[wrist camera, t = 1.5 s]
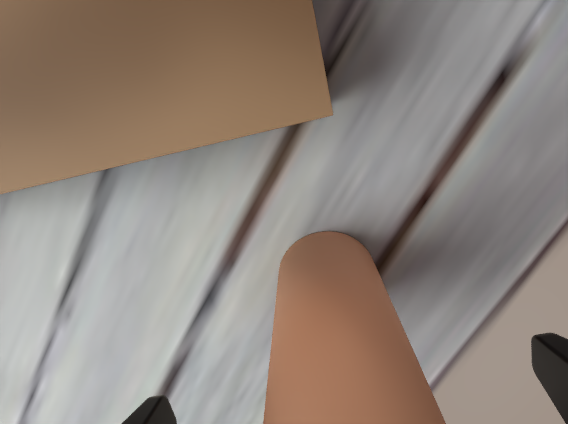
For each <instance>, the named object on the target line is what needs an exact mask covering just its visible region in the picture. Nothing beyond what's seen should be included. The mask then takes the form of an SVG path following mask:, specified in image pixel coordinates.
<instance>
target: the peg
mask: <svg viewBox="0 0 568 424" xmlns="http://www.w3.org/2000/svg"><path fill="white" fill-rule="evenodd" d="M263 424H446V423H445V421H444V419H443V416H442V414H441V412H440V409H439V407H438V405H437V403H436V400H435V398H434V396H433V394H432V391H431V389H430V387H429V385H428V383H427V380H426V378H425V376H424V374H423V371H422V369H421V367H420V365H419V362H418V360H417V358H416V356H415V353H414V351H413V349H412V347H411V344H410V342H409V340H408V338H407V335H406V333H405V331H404V329H403V326H402V324H401V322H400V320H399V317H398V315H397V313H396V311H395V308H394V306H393V304H392V302H391V300H390V297H389V295H388V293H387V291H386V288H385V286H384V284H383V282H382V279H381V277H380V275H379V273H378V270H377V268H376V266H375V264H374V261H373V259H372V257H371V255H370V253H369V252H368V250H367V249H366V248H365V247H364V246H363V245H362V244H361V243H360V242H359V241H357V240H356V239H355V238H353V237H351V236H349V235H346V234H343V233H339V232H332V231H323V232H316V233H313V234H310V235H307V236H305V237H303V238H301V239H299V240H298V241H296V242H295V243H294V244H293V245H292V246H291V247H290V248H289V249H288V250H287V251H286V253H285V255H284V256H283V258H282V261H281V263H280V267H279V276H278V285H277V295H276V305H275V314H274V324H273V334H272V344H271V353H270V363H269V373H268V382H267V392H266V402H265V411H264V421H263Z"/></svg>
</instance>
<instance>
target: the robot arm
mask: <svg viewBox="0 0 568 424" xmlns="http://www.w3.org/2000/svg"><path fill="white" fill-rule="evenodd" d="M531 343H532V344H531V345H532V346H531V347H532V366H533V370H534V372H535V374H536V376H537V378H538V379H539V381H540V382H541V384H542V386H543V387H544V389H545V390H546V392H547V393H548V395H549V397H550V398H551V400H552V402H553V403H554V405H555V407H556V408H557V410H558V412H559V413H560V415H561V416H562V418H563V419H564V421H565V423H566V424H568V339H566V338H564V337H561V336H559V335H557V334H554V333H545V334H538V335H534V336H533V337H532V341H531ZM122 424H177V421H176V417H175V415H174V412H173V410H172V408H171V405H170V403H169V401H168V399H167V397H166V396H165V395H159V396H153V397H149V398H148V399H147V400H145V401H144V402H143V403H142V404H141V405H140V406H139V407H138V408H137V409H136V410H135V411H134V412H133V413H132V414H131V415H130V416H129V417H128V418H127V419H126V420H125V421H124V422H123V423H122Z"/></svg>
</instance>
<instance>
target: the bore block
mask: <svg viewBox="0 0 568 424" xmlns="http://www.w3.org/2000/svg"><path fill="white" fill-rule="evenodd" d="M332 115H333V111H332V105H331V100H330V95H329V89H328V84H327V78H326V73H325V67H324V62H323V57H322V51H321V46H320V40H319V35H318V30H317V24H316V19H315V13H314V8H313V3H312V0H0V194H3V193H8V192H12V191H16V190H20V189H25V188H29V187H33V186H37V185H41V184H46V183H50V182H54V181H58V180H62V179H67V178H71V177H75V176H79V175H84V174H88V173H92V172H96V171H100V170H105V169H109V168H113V167H117V166H121V165H126V164H130V163H134V162H138V161H142V160H147V159H151V158H155V157H159V156H164V155H168V154H172V153H176V152H180V151H185V150H189V149H193V148H197V147H201V146H206V145H210V144H214V143H218V142H223V141H227V140H231V139H235V138H239V137H244V136H248V135H252V134H256V133H260V132H265V131H269V130H273V129H277V128H282V127H286V126H290V125H294V124H298V123H303V122H307V121H311V120H315V119H319V118H324V117H328V116H332Z"/></svg>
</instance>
